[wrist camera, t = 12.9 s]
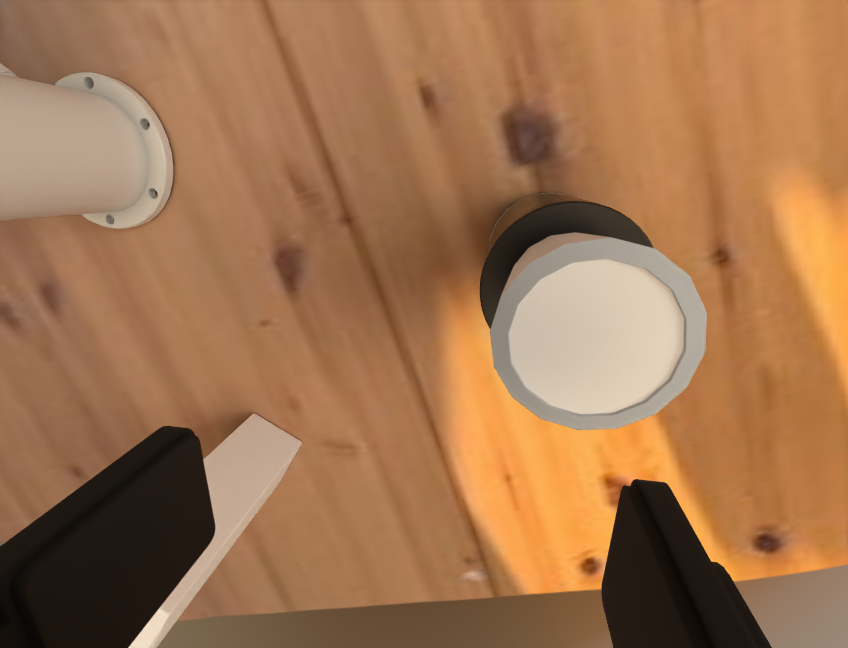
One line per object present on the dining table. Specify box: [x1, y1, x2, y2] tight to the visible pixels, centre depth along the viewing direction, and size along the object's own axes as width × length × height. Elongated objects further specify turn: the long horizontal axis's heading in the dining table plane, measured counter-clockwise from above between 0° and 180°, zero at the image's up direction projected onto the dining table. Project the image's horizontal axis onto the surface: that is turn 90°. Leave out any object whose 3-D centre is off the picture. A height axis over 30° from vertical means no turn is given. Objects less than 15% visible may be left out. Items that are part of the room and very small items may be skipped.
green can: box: [480, 192, 653, 330], centre depth 27 cm, size 8×8×14 cm
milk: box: [129, 413, 302, 648], centre depth 35 cm, size 6×6×22 cm
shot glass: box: [490, 232, 707, 430], centre depth 17 cm, size 7×7×7 cm
